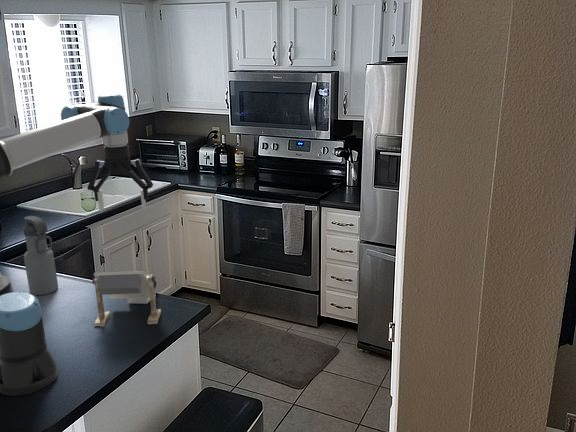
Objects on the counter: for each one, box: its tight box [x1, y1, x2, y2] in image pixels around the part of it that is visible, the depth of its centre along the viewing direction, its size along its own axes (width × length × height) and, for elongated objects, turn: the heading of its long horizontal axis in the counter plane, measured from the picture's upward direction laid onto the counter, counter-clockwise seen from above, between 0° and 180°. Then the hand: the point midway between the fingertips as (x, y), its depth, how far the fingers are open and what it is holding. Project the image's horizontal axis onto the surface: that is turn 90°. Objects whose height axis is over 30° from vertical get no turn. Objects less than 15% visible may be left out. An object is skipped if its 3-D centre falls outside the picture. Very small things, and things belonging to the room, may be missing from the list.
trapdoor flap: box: [93, 270, 156, 300], centre depth 177 cm, size 21×15×5 cm
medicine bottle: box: [126, 274, 157, 305], centre depth 194 cm, size 7×7×12 cm
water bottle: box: [22, 215, 59, 296], centre depth 198 cm, size 10×10×28 cm
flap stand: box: [91, 273, 162, 327], centre depth 177 cm, size 8×20×15 cm, turn 94°
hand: (123, 209), depth 178 cm, fingers open, 13 cm apart
